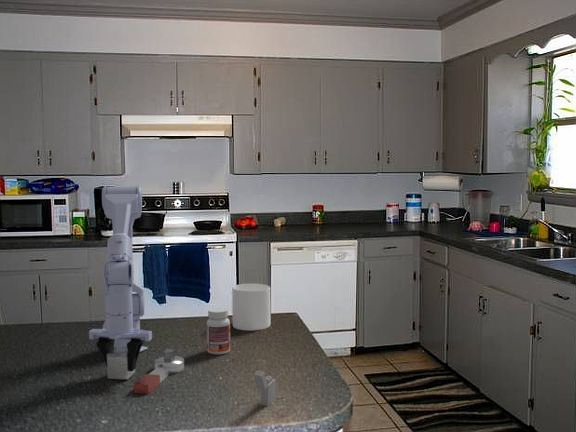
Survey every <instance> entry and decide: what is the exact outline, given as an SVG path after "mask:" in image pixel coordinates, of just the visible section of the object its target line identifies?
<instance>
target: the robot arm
mask: <svg viewBox="0 0 576 432" xmlns="http://www.w3.org/2000/svg"><path fill="white" fill-rule="evenodd" d="M101 205H102V209H103V211H104V213H103V214H104V215H105V218H107V219H110V220H111V222H112V223H111V224H112V235H111V236H110V237H109V238H108V239H107V250H106V264H104V265H103V273H102V274H103V275H102V276H103V284H104V290H105V291H104V293H105V302H104V307H105V308H104V309H105V312H104V313H105V317H106V319H105V320H104V322H103V325H102V328H92V329H90V330H89V331H88V337H89V338H88V339H89V340H95V339H97V340H98V341H97V342H96V348H97V349H98V350H99V351H100V354H101V355H102V358H103V360H104V362H105V366H106V367H107V353H108V352H109V351H111V350H112V349H113V348H115V347H127V348H128V354H129V370H130V371H133V370H134V369H135V370H136V367H137V361H138V357H139V355H140V353H141V352H143V351H146V350H148V347H147V346H143V344H144V343H145V342H150V341H152V339H153V332H152V330H145V329H141V323H140V322H141V319H140V318H141V317H143V316H144V315H145V294H144V293H145V292H144V291H145V290H144V288H143V286H142V285H140V284H139V283H137V282H136V281H134V280H135V276H134V275H135V273H134V272H135V269H134V267H135V266H134V261H133V260H134V259H133V255H134V254H133V248H134V247H133V226H134V222H135V220H137V219H139V218H141V216H142V212H143V211H142V210H143V209H142V208H143V190H142V187H141V186H140V185H136V186H134V185H133V186H132V185H131V186H130V185H129V186H128V185H127V186H125V185H124V186H122V185H121V186H107V185H104V186H103V187H102V188H101Z"/></svg>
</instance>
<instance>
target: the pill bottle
mask: <svg viewBox="0 0 576 432" xmlns="http://www.w3.org/2000/svg"><path fill="white" fill-rule="evenodd" d="M228 312H229V311H228V308H226V307H211V308H209V309H208V310H207V317H208V319H207V321H206V350H207V353H208V354H211V355H224V354H227V353H230V352H231V322H230V321H231V320H230V319H229V318H228V316H229V315H228V314H229V313H228Z"/></svg>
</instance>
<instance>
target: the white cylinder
mask: <svg viewBox="0 0 576 432" xmlns="http://www.w3.org/2000/svg"><path fill="white" fill-rule="evenodd" d="M231 291H232V292H231V294H232V295H231V297H232V298H231V299H232V301H231V302H232V303H231V304H232V305H231V306H232V307H231V309H232V327H233V328H234V329H236V330H240V331H249V332H250V331H253V332H254V331H261V330H265V329H268V328H270V326H271V315H272V314H271V286H270V285H268V284H264V283H242V284H241V283H240V284H236V285H233V286H232V288H231Z"/></svg>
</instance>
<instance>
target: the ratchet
mask: <svg viewBox="0 0 576 432" xmlns="http://www.w3.org/2000/svg"><path fill="white" fill-rule="evenodd" d="M183 371H185V358H184V357H182V356H178V355H176V350H175V348H173V349H171V348H167V349H164V350H163V356H162V357H159V358H156V359H155V360H154V369H153V370H152V371H151V372H149V373H145V374H144V375H143V376H141V377H140V378H139V379H138V380H137V381H135V382H134V383H133V393H134V394H143V395H144V394H145V395H149V394H151V393H152V392H153V391H154V390H155V389H156V388H158V387H159V386H160V385H161V383H162V382H163V381H164V380H165V379H166V378H167V377H169V376H170V375H175V374H179V373H181V372H183Z"/></svg>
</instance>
